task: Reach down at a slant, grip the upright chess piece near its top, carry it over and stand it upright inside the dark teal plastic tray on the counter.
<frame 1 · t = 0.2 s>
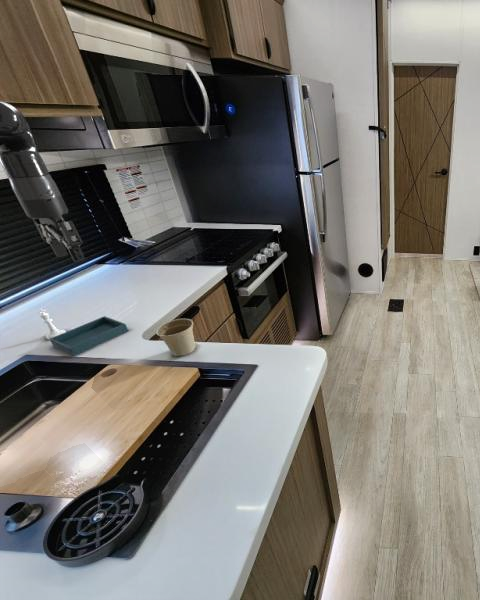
hand: (71, 258, 87), 30 cm above the worktop, tool pointing down, fingers open, 8 cm apart
tray: (92, 338, 108), on the worktop
flower pot: (184, 351, 101), on the worktop
chess piece: (56, 335, 109), on the worktop
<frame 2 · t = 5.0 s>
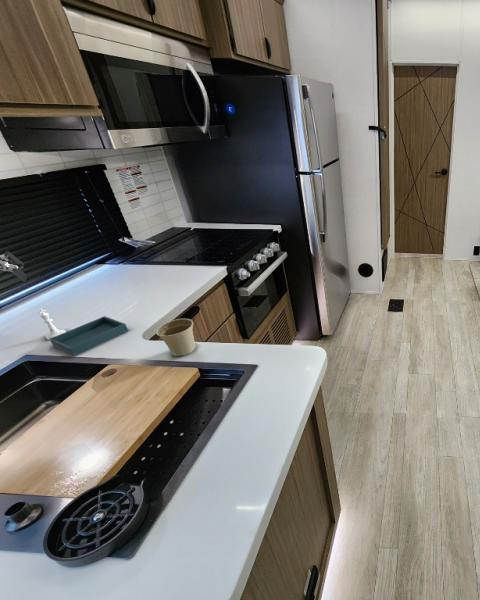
hand: (7, 285, 104), 17 cm above the worktop, tool tilted 45°, fingers open, 8 cm apart
nothing on the worktop moved.
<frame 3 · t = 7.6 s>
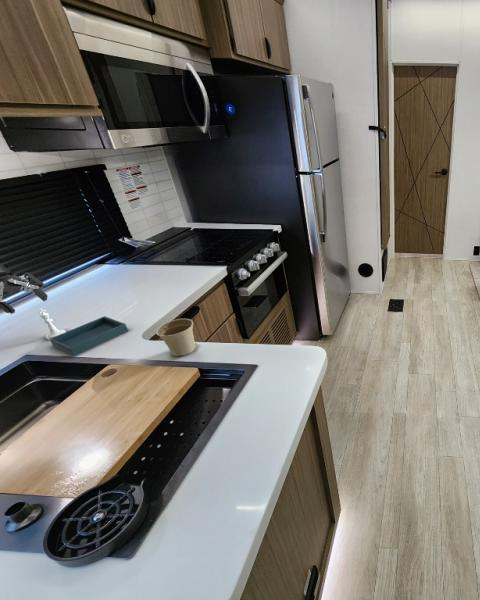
hand: (30, 305, 105), 11 cm above the worktop, tool tilted 45°, fingers open, 8 cm apart
nothing on the worktop moved.
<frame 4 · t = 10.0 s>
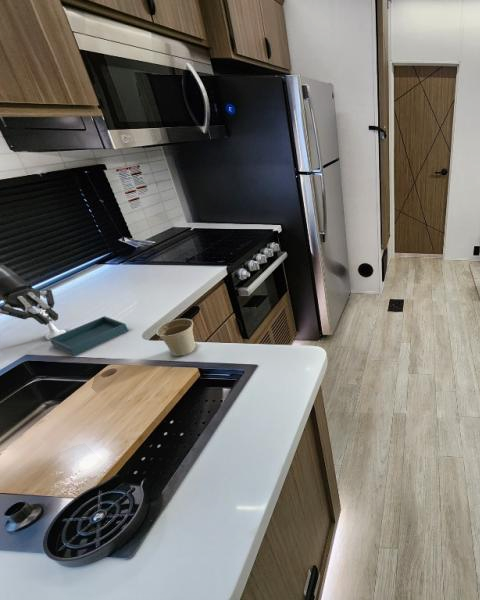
hand: (52, 320, 106), 6 cm above the worktop, tool tilted 45°, fingers closed on chess piece
chess piece: (56, 335, 109), on the worktop, touching gripper
everything else where it was.
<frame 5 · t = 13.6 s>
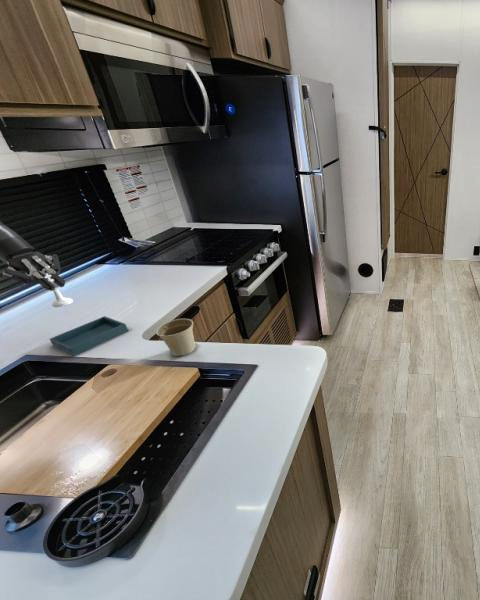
hand: (58, 287, 99), 19 cm above the worktop, tool tilted 45°, fingers closed on chess piece
chess piece: (63, 304, 102), point 13 cm above the worktop, touching gripper
everything else where it was.
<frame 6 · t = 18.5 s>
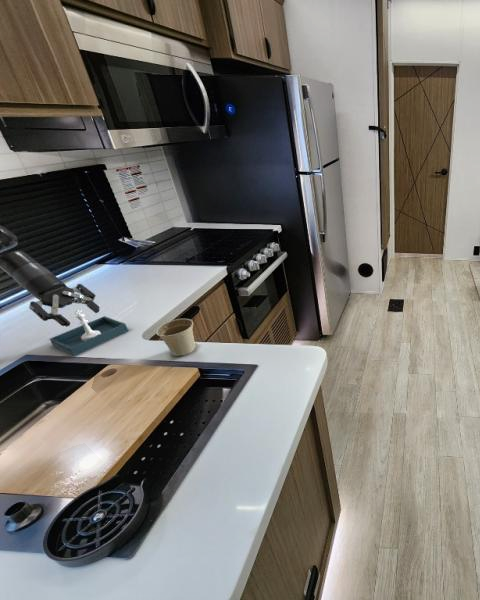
hand: (84, 317, 104), 8 cm above the worktop, tool tilted 45°, fingers open, 8 cm apart
chess piece: (91, 336, 108), resting on tray
everything else where it was.
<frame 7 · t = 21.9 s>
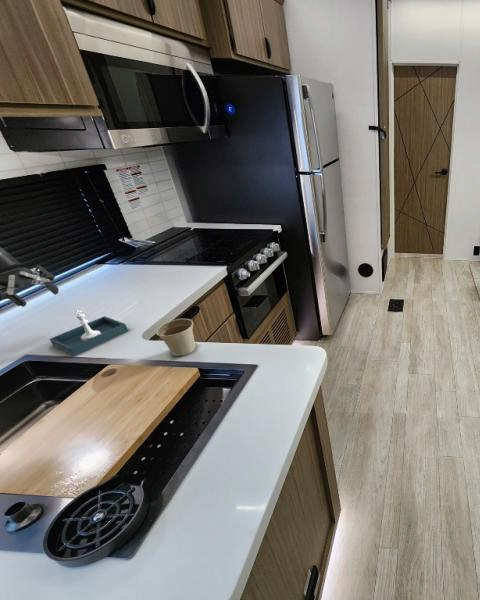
hand: (41, 298, 104), 13 cm above the worktop, tool tilted 45°, fingers open, 8 cm apart
nothing on the worktop moved.
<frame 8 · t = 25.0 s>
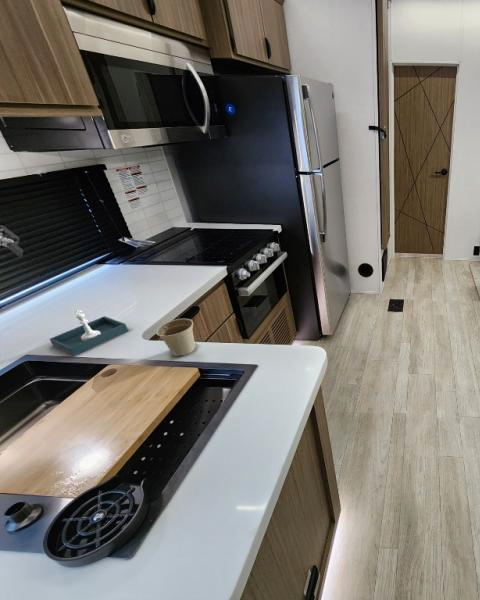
hand: (3, 259, 97), 27 cm above the worktop, tool tilted 45°, fingers open, 8 cm apart
nothing on the worktop moved.
at the end: chess piece inside the target area in the tray (0.2 cm from its centre), point 0.4 cm above the tray's base; chess piece tilted 0°; the gripper is holding nothing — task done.
